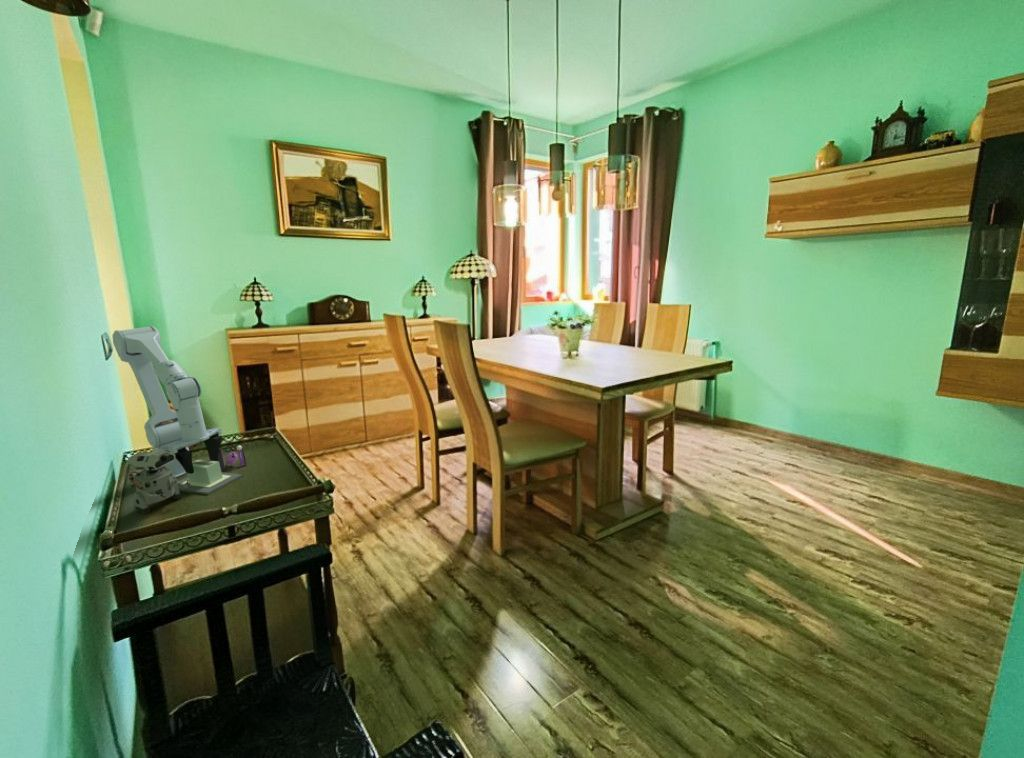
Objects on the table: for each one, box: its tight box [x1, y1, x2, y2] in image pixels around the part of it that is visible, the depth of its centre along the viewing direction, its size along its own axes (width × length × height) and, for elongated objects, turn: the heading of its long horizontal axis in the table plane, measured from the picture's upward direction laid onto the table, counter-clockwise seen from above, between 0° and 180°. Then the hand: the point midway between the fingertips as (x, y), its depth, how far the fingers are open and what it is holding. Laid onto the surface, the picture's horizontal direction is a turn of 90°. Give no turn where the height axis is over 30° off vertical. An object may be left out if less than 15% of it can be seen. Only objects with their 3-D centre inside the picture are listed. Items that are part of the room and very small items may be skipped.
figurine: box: [125, 450, 190, 514], centre depth 120 cm, size 9×12×15 cm
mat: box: [176, 471, 244, 496], centre depth 134 cm, size 16×11×1 cm
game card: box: [209, 444, 247, 472], centre depth 144 cm, size 7×5×9 cm
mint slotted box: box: [186, 459, 223, 484], centre depth 134 cm, size 4×8×5 cm, turn 72°
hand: (202, 467), depth 134 cm, fingers open, 7 cm apart
